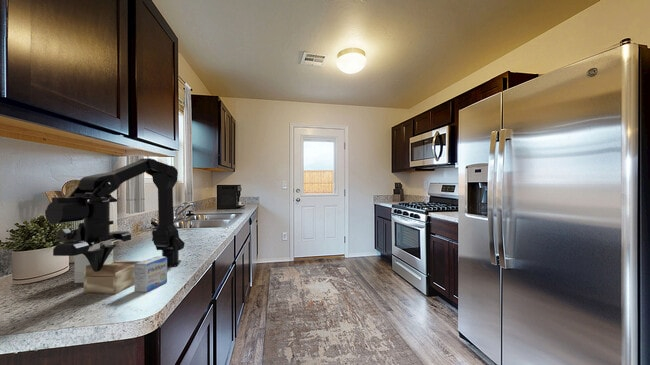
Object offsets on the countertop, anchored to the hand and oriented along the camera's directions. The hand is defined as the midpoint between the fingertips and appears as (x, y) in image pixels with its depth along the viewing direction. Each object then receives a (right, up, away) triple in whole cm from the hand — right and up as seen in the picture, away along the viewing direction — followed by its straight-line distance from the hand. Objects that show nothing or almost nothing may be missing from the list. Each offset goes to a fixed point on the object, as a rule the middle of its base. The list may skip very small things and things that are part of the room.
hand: (96, 271), depth 73 cm
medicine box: (+12, -7, +6) cm, 15 cm away
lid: (0, -2, +6) cm, 6 cm away
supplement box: (-12, -7, +13) cm, 19 cm away
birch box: (0, -7, +7) cm, 10 cm away
